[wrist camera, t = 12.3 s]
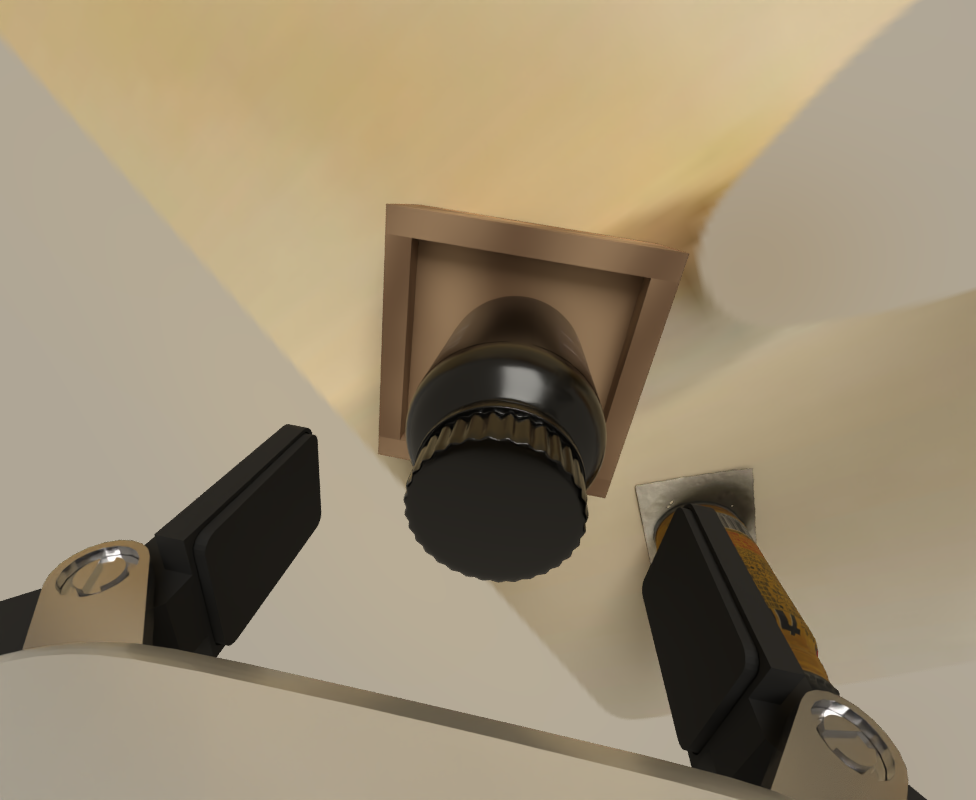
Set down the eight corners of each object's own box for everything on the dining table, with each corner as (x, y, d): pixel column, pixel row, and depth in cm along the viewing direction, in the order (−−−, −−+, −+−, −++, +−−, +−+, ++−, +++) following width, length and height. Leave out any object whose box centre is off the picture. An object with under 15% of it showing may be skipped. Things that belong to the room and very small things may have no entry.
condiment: (652, 572, 31) (709, 762, 21) (634, 484, 28) (691, 654, 17) (756, 560, 30) (877, 761, 19) (750, 465, 27) (892, 640, 16)
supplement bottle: (482, 433, 23) (429, 627, 12) (429, 322, 21) (307, 446, 10) (601, 395, 21) (660, 585, 11) (557, 269, 19) (577, 351, 8)
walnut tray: (657, 243, 22) (689, 253, 17) (594, 448, 27) (605, 498, 23) (419, 204, 22) (386, 203, 18) (405, 412, 28) (378, 454, 23)
